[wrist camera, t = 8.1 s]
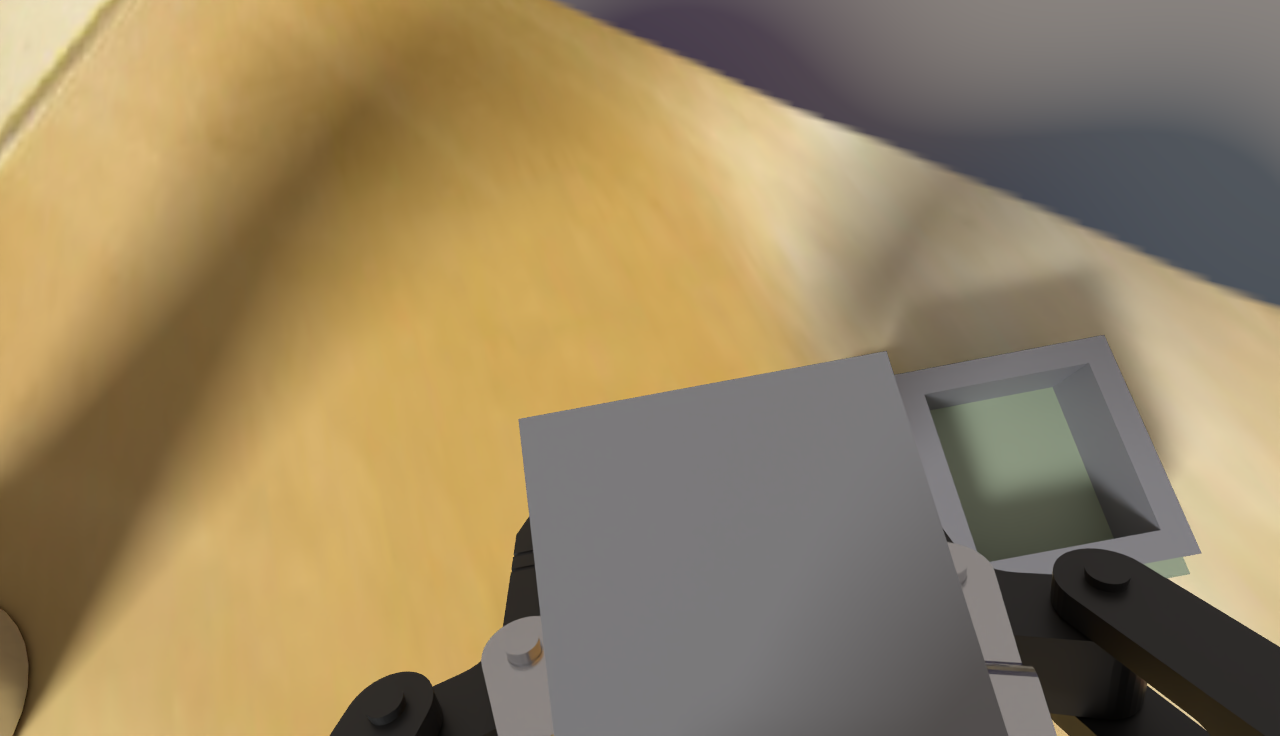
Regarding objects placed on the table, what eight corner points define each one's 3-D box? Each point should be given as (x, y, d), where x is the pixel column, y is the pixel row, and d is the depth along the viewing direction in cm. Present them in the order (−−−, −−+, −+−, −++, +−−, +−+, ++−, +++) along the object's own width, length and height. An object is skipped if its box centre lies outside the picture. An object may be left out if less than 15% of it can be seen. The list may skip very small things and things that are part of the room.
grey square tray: (896, 625, 29) (934, 626, 24) (832, 400, 33) (855, 364, 28) (1158, 577, 29) (1246, 568, 24) (1065, 356, 32) (1127, 312, 28)
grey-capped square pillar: (644, 713, 17) (567, 853, 7) (616, 530, 19) (519, 419, 8) (824, 681, 17) (1020, 772, 7) (781, 500, 19) (886, 350, 8)
